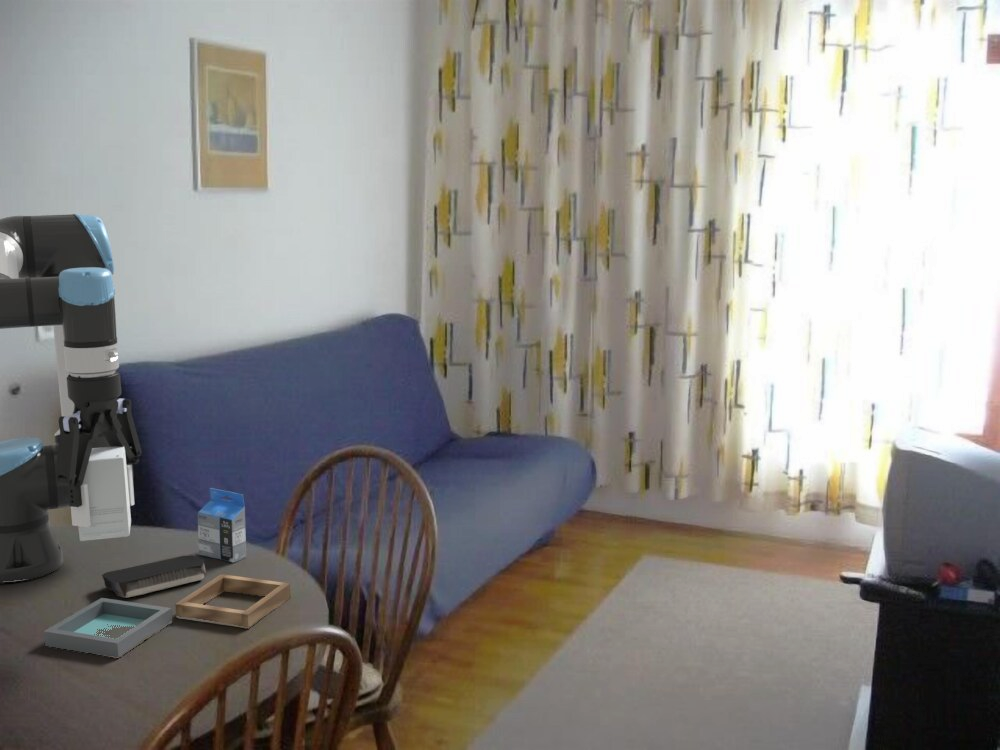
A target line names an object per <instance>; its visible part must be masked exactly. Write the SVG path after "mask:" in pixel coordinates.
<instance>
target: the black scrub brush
mask: <svg viewBox="0 0 1000 750" xmlns="http://www.w3.org/2000/svg"><path fill="white" fill-rule="evenodd" d="M206 570H207V569H206V566H205V560H204V559H203V558H201V557H200V558H199V557H195V556H193V555H182V556H177V557H173V558H172V557H171V558H168V559H167V558H166V559H163V560H159V561H157V560H156V561H154V562H150V563H149V562H148V563H145V564H140V565H135V566H131V567H126V568H121V569H117V570H116V569H115V570H110V571H107V572H104V573H103V574H102V575H101V578H102V579H103V581H104V586H105V588H106V589H107V590H109V591H112V592H114V593H115V595H116V596H117V597H121V598H124V599H125V598H126V599H128V598H131V597H136V596H142V595H145V594H150V593H153V592H157V591H161V590H166V589H169V588H174V587H178V586H181V585H186V584H189V583H194V582H198V581H201V580H203V579H204V578H205V576H206V575H207V571H206Z"/></svg>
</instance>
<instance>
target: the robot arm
mask: <svg viewBox="0 0 1000 750" xmlns="http://www.w3.org/2000/svg"><path fill="white" fill-rule="evenodd" d="M114 274H115V265H114V260H113V252H112V248H111V244H110V239H109V236H108V232H107V228H106V226H105V224H104V221H103V220H102V219H101V218H100V217H99V216H97V215H93V214H77V213H72V214H52V215H51V214H50V215H49V214H46V215H45V214H44V215H13V216H6V217H3V218H0V330H3V329H5V330H6V329H17V328H19V329H20V328H32V327H33V328H35V327H51V326H52V327H53V328H52V329H53V337H54V338H53V339H54V347H55V348H54V349H55V358H56V359H55V360H56V368H57V379H58V391H59V400H60V411H61V416H59V417H58V427H59V429H58V430H57V431H55V433H54V444H49V445H48V444H47V445H44V442H42V439H41V438H39V437H33V436H31V437H26V436H25V437H20V438H19V437H17V438H13V439H8V440H4V441H0V582H3V581H14V580H23V579H31V580H33V579H32V578H35V579H38V578H37V577H39V578H42V577H45V576H47V575H50V574H51V572H52V573H53V571H54V572H55V571H57V570H59V569H60V568H61V567H62V565H63V563H64V557H63V550H62V547H61V546H60V545H59V544H58V540H57V538H56V535H55V533H54V531H53V528H52V526H51V524H50V518H49V510H56V509H58V510H59V509H66V508H70V512H71V514H70V515H71V525H72V526H74V527H78V526H80V527H89V526H91V522H90V509H89V497H88V485H87V484H84V483H83V481H84V477H85V473H86V469H87V465H88V462H89V458H90V454H91V450H92V448H102V447H115V446H117V447H124V448H125V454H126V466H127V478H128V490H129V502H130V507H132V506H134V505H135V491H134V479H135V477H134V476H135V475H134V464H135V465H137V464H139V462H140V456H141V457H142V453H143V450H142V448H141V447H142V446H141V443H140V440H139V436H138V432H137V429H136V424H135V422H134V420H135V419H134V417H133V414H132V400H131V399H130V398H119V397H120V396H121V395H122V385H121V383H122V382H121V373H120V372H118V371H117V370H118V369H119V367H120V360H119V351H118V337H117V319H116V303H115V302H116V301H115V295H116V289H115V285H114V281H113V280H114V279H113V276H114ZM75 475H76V477H75ZM49 573H50V574H49ZM46 574H47V575H46ZM44 575H45V576H44ZM41 576H42V577H41Z"/></svg>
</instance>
